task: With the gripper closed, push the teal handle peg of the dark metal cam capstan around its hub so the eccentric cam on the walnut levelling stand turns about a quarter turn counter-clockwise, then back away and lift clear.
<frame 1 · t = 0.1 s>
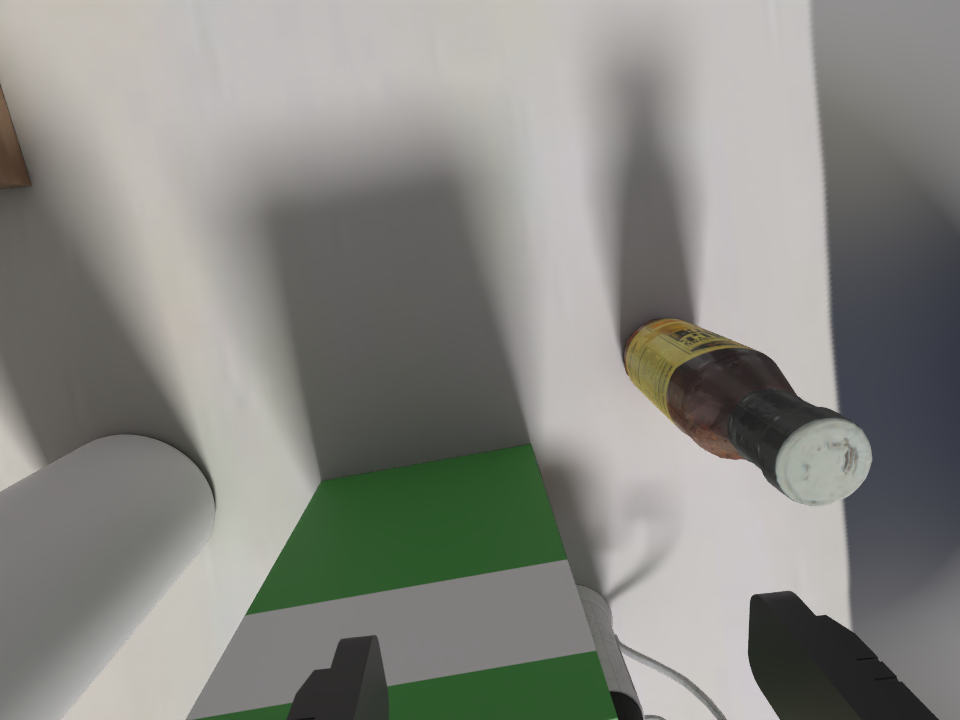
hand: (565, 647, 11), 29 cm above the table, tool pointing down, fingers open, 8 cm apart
glass holder: (594, 621, 46), on the table
cylinder vase: (143, 499, 42), on the table
hardback book: (435, 500, 42), on the table
sauce bottle: (655, 352, 40), on the table
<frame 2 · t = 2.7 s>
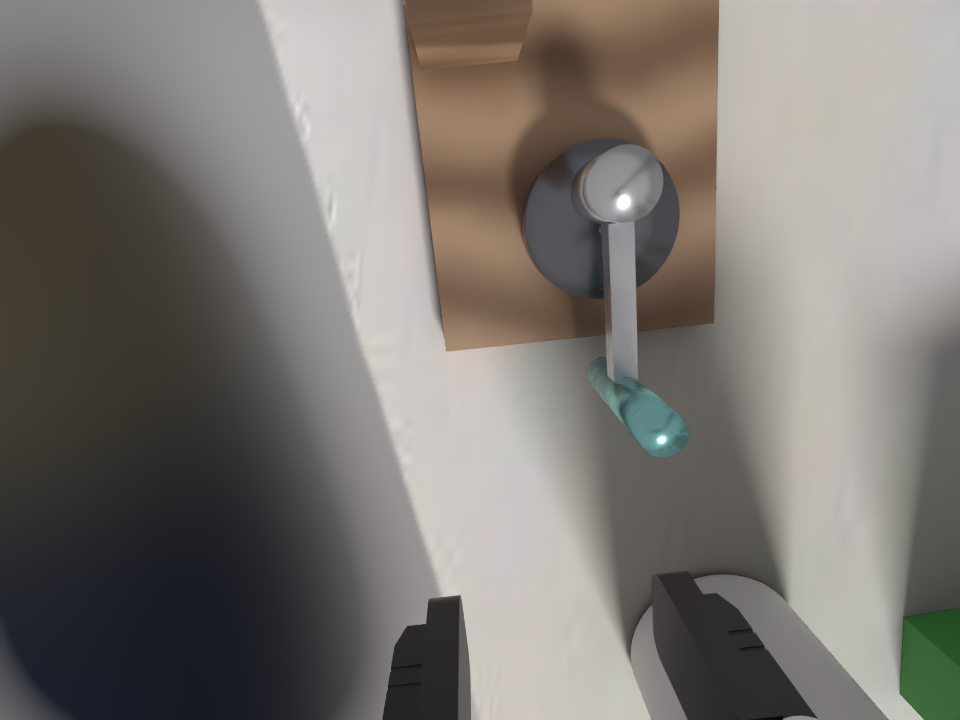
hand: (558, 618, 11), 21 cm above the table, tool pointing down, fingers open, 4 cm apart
cylinder vase: (707, 637, 38), on the table
cam capstan: (622, 280, 24), point 7 cm above the table, hinge at 0.0°
stand: (564, 181, 29), on the table
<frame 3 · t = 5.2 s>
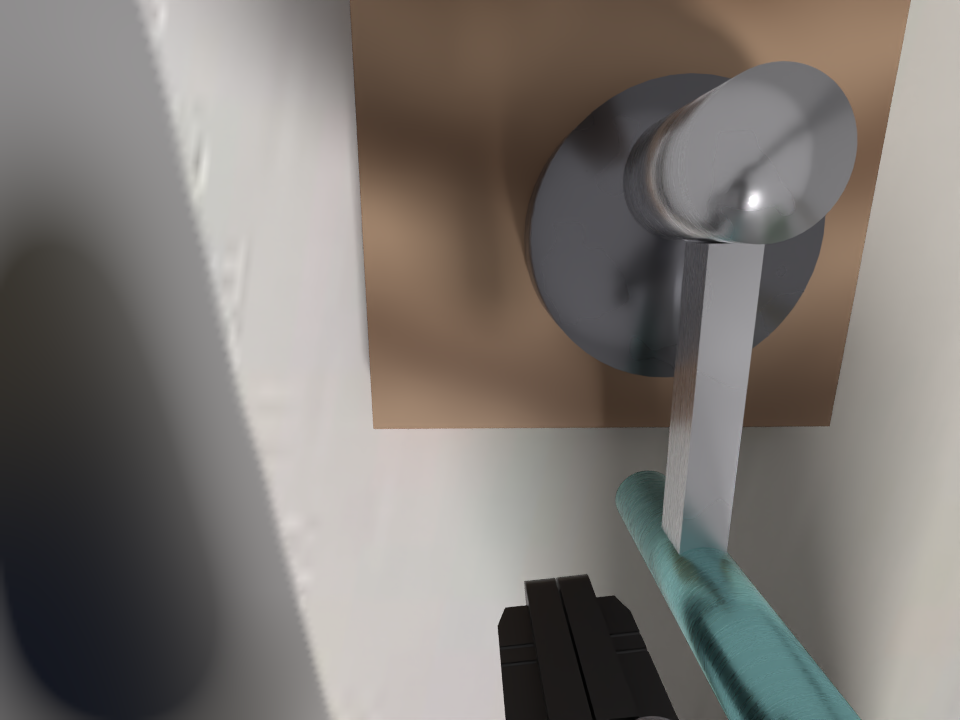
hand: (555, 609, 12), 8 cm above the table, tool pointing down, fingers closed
cam capstan: (721, 362, 11), point 7 cm above the table, hinge at 1.2°, touching gripper
stand: (605, 159, 17), on the table
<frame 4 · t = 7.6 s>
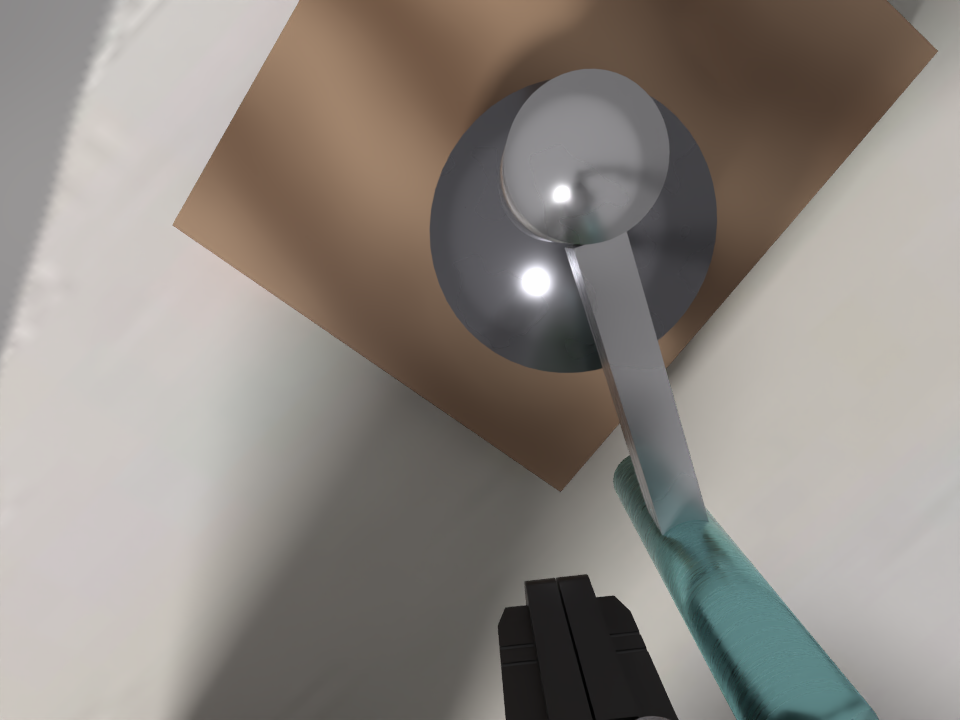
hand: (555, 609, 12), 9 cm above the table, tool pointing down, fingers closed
cam capstan: (631, 349, 12), point 7 cm above the table, hinge at 56.4°, touching gripper
stand: (533, 151, 17), on the table
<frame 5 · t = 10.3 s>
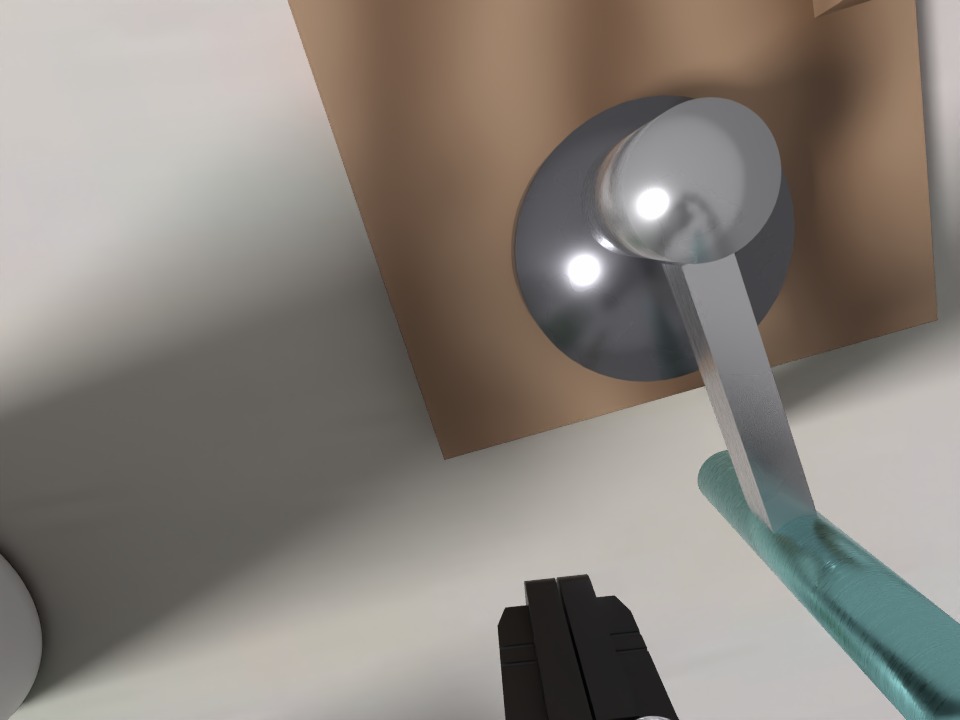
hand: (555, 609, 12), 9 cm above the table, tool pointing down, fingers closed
cam capstan: (738, 357, 12), point 7 cm above the table, hinge at 97.8°
stand: (619, 170, 18), on the table
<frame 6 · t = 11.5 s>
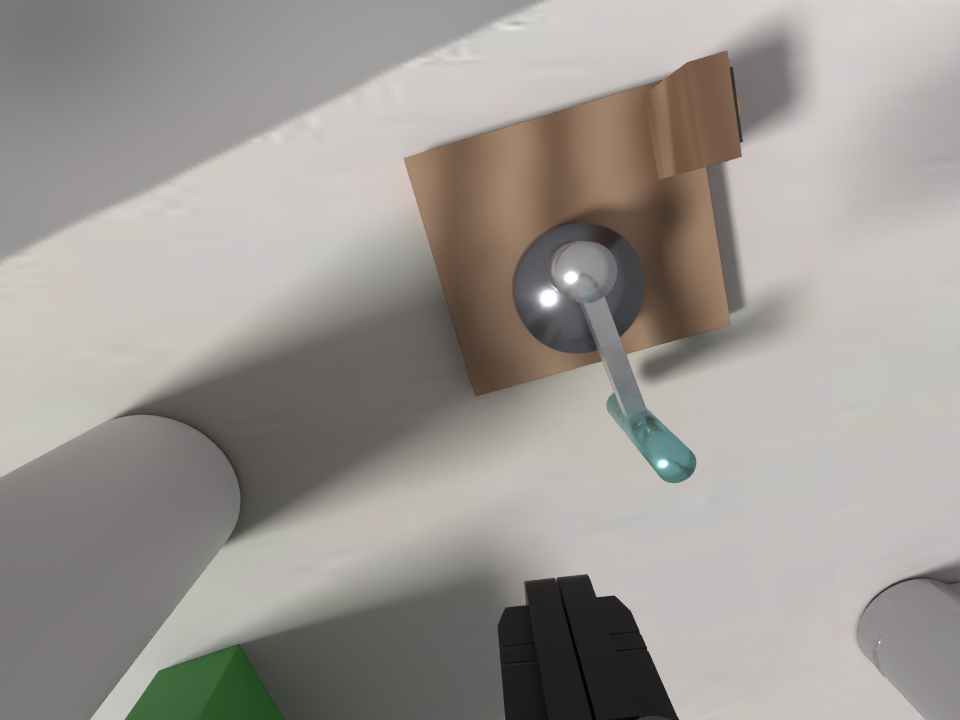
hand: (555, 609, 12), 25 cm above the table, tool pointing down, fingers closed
cylinder vase: (162, 487, 38), on the table
cam capstan: (609, 340, 28), point 7 cm above the table, hinge at 97.8°
stand: (569, 244, 34), on the table
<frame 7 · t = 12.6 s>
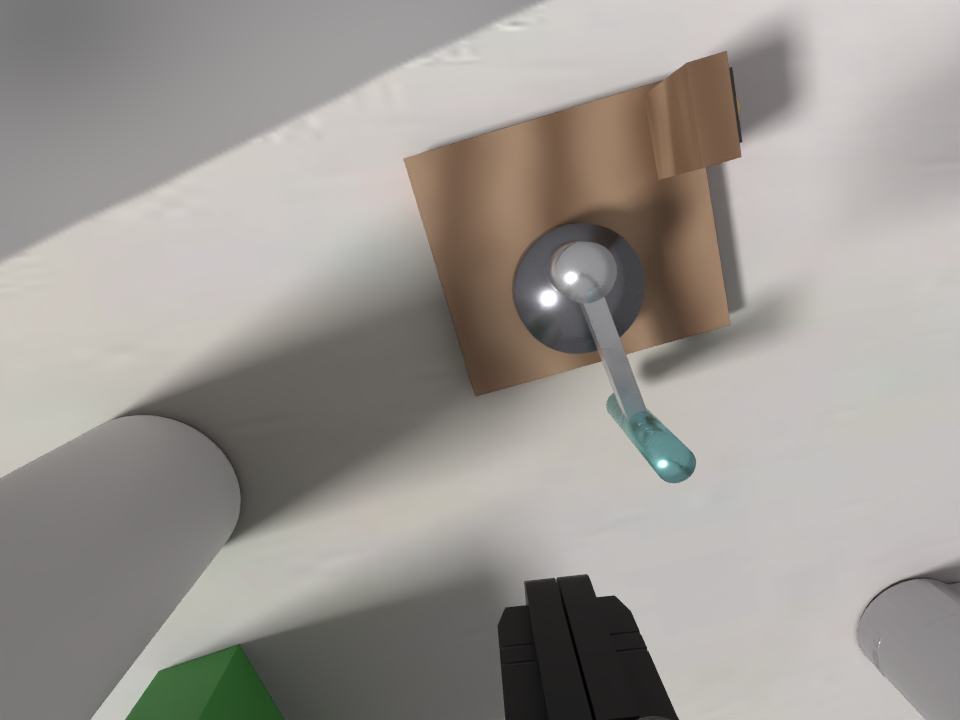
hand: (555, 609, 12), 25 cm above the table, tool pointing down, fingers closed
cylinder vase: (162, 487, 38), on the table
cam capstan: (608, 340, 28), point 7 cm above the table, hinge at 97.8°
stand: (568, 245, 34), on the table
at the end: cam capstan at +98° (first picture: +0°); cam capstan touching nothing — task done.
